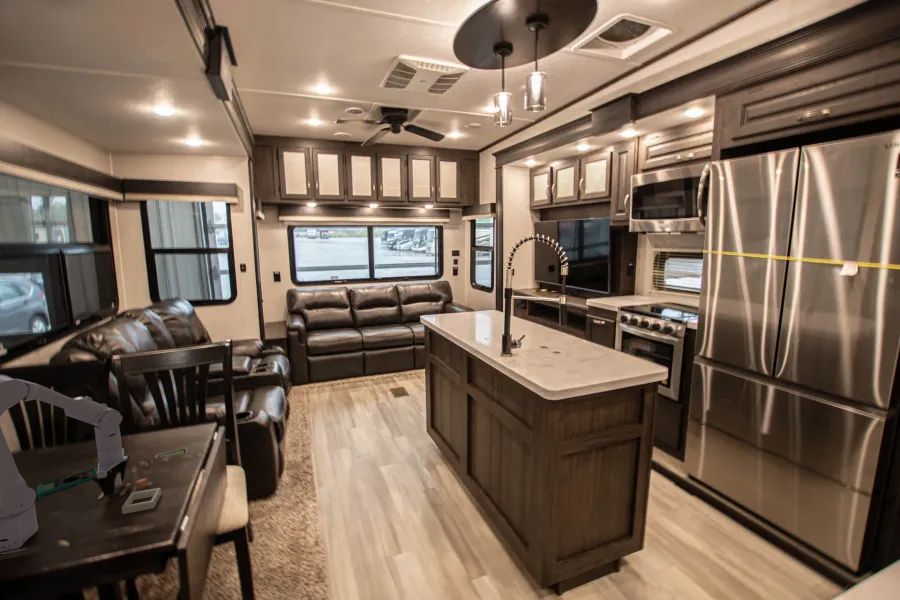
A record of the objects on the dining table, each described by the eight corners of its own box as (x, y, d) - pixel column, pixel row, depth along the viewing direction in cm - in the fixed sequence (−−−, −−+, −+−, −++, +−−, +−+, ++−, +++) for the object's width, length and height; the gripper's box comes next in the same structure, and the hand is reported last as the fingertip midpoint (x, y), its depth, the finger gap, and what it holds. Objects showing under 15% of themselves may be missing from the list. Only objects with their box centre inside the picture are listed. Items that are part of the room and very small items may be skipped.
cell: (119, 494, 124) (117, 475, 123) (105, 497, 123) (102, 477, 122) (124, 488, 127) (122, 469, 127) (110, 490, 126) (107, 471, 125)
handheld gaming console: (156, 472, 137) (154, 454, 149) (157, 476, 137) (155, 458, 149) (191, 462, 143) (186, 446, 155) (191, 466, 143) (187, 450, 155)
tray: (154, 512, 118) (152, 501, 117) (123, 518, 115) (121, 507, 114) (161, 498, 124) (160, 487, 124) (132, 503, 122) (131, 492, 121)
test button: (146, 488, 127) (145, 482, 126) (134, 490, 126) (133, 484, 125) (149, 483, 130) (148, 477, 129) (138, 485, 128) (137, 479, 128)
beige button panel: (150, 498, 124) (149, 492, 124) (93, 509, 119) (92, 503, 119) (160, 479, 134) (160, 474, 134) (108, 489, 129) (108, 483, 129)
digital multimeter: (101, 482, 134) (100, 474, 133) (37, 502, 123) (36, 493, 123) (99, 473, 139) (98, 465, 138) (38, 492, 128) (36, 483, 128)
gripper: (115, 455, 118) (121, 498, 120) (133, 433, 131) (138, 472, 133) (85, 459, 115) (91, 503, 117) (107, 437, 129) (112, 477, 131)
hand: (114, 487), depth 125 cm, fingers open, 7 cm apart
